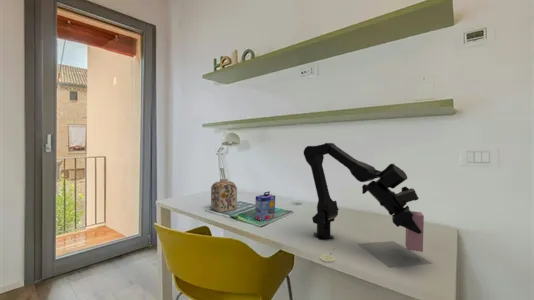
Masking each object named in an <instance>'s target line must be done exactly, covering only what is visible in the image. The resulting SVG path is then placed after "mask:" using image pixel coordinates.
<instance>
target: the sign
mask: <svg viewBox="0 0 534 300" xmlns="http://www.w3.org/2000/svg"><path fill="white" fill-rule="evenodd" d="M332 250H333V251H334V250H336V247H334V248H333V249H332ZM319 260H320V261H321V262H323V263H326V264H327V263H329V264H330V263H335V261H336V257H335V256H334V255H332V252H330V253H329V254H326V253H325V254H321V255H319Z"/></svg>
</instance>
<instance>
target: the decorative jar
mask: <svg viewBox="0 0 534 300" xmlns="http://www.w3.org/2000/svg"><path fill="white" fill-rule="evenodd" d="M237 189H238V187H237V186H236V184H235V182H233V181H229V179H228V178H220V179H219V181H216V182H214V183H212V185H211V187H210V209H212V210H214V211H216V212H219V213H225V212H230V211H235V210H234V209H236V210H237V209H238V190H237ZM229 210H230V211H229ZM224 211H225V212H224Z"/></svg>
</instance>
